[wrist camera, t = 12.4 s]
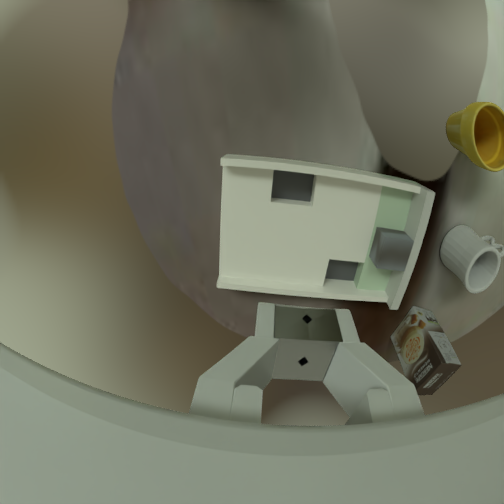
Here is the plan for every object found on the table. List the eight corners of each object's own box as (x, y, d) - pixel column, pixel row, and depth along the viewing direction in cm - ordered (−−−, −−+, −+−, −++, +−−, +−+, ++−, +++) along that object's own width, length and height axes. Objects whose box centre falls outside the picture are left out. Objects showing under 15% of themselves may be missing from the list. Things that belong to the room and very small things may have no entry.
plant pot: (478, 106, 30) (513, 110, 21) (478, 162, 34) (513, 175, 26) (435, 97, 31) (470, 95, 22) (437, 157, 36) (471, 169, 27)
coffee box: (412, 304, 48) (443, 361, 34) (432, 310, 49) (463, 363, 34) (389, 337, 52) (410, 395, 38) (409, 341, 53) (432, 395, 38)
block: (376, 226, 39) (385, 237, 35) (403, 231, 39) (414, 241, 35) (369, 255, 41) (376, 268, 38) (395, 259, 41) (404, 271, 37)
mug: (440, 273, 45) (464, 302, 36) (435, 234, 41) (463, 260, 32) (484, 249, 41) (511, 273, 32) (481, 210, 38) (512, 230, 29)
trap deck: (227, 153, 39) (217, 160, 33) (414, 181, 38) (435, 192, 32) (222, 271, 48) (214, 294, 42) (385, 286, 47) (397, 309, 41)
